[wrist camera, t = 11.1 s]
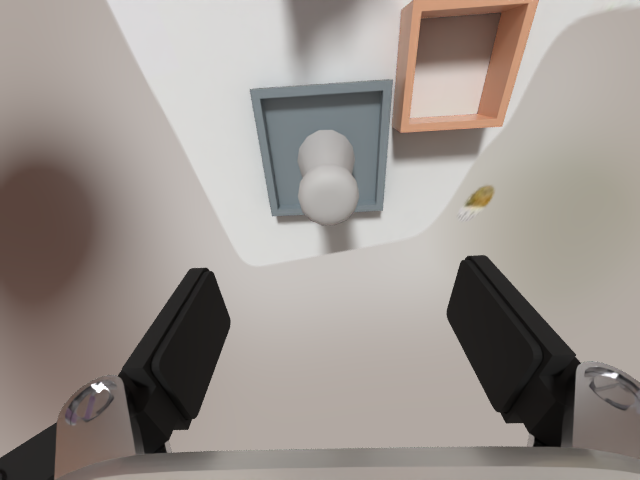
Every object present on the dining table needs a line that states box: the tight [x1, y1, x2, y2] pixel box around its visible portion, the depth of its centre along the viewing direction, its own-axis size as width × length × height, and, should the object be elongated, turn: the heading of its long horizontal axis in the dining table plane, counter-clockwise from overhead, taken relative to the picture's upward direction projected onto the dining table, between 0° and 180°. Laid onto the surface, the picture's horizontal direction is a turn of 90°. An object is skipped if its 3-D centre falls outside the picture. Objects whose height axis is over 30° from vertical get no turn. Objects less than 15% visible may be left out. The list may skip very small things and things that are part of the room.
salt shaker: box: [297, 130, 359, 225], centre depth 23 cm, size 6×6×13 cm
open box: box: [392, 0, 539, 133], centre depth 23 cm, size 9×9×4 cm
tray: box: [250, 79, 393, 216], centre depth 28 cm, size 13×13×2 cm
